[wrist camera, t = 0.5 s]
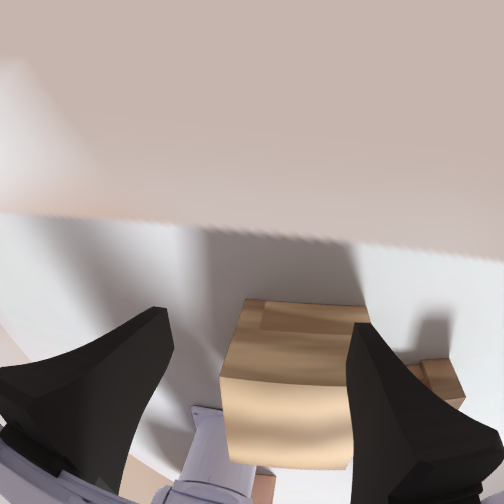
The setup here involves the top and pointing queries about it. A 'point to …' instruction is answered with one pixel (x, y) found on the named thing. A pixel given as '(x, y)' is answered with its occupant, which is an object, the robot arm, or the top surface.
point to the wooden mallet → (440, 380)
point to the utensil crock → (263, 489)
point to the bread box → (289, 385)
